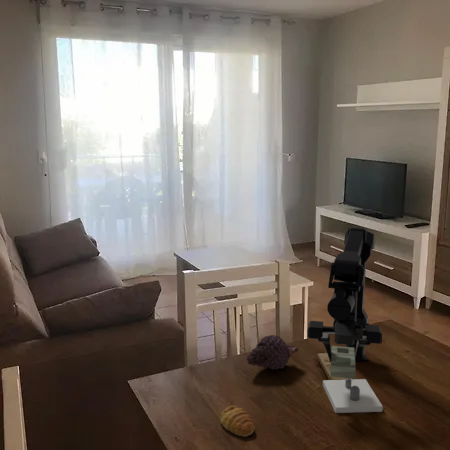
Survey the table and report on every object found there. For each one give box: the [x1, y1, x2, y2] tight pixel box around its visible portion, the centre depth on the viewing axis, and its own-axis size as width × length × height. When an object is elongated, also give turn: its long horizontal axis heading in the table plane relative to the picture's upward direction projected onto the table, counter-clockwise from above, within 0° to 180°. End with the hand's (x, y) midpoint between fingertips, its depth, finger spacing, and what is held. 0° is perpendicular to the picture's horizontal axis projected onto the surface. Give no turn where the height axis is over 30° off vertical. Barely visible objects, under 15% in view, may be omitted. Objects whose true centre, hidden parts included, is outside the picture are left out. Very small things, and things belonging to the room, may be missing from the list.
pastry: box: [219, 405, 256, 438], centre depth 125 cm, size 9×7×4 cm
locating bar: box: [330, 345, 357, 380], centre depth 137 cm, size 12×6×3 cm, turn 168°
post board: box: [322, 378, 384, 414], centre depth 138 cm, size 14×12×5 cm
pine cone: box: [246, 334, 300, 370], centre depth 154 cm, size 18×10×10 cm, turn 120°
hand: (342, 362), depth 137 cm, fingers closed on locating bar, 6 cm apart
